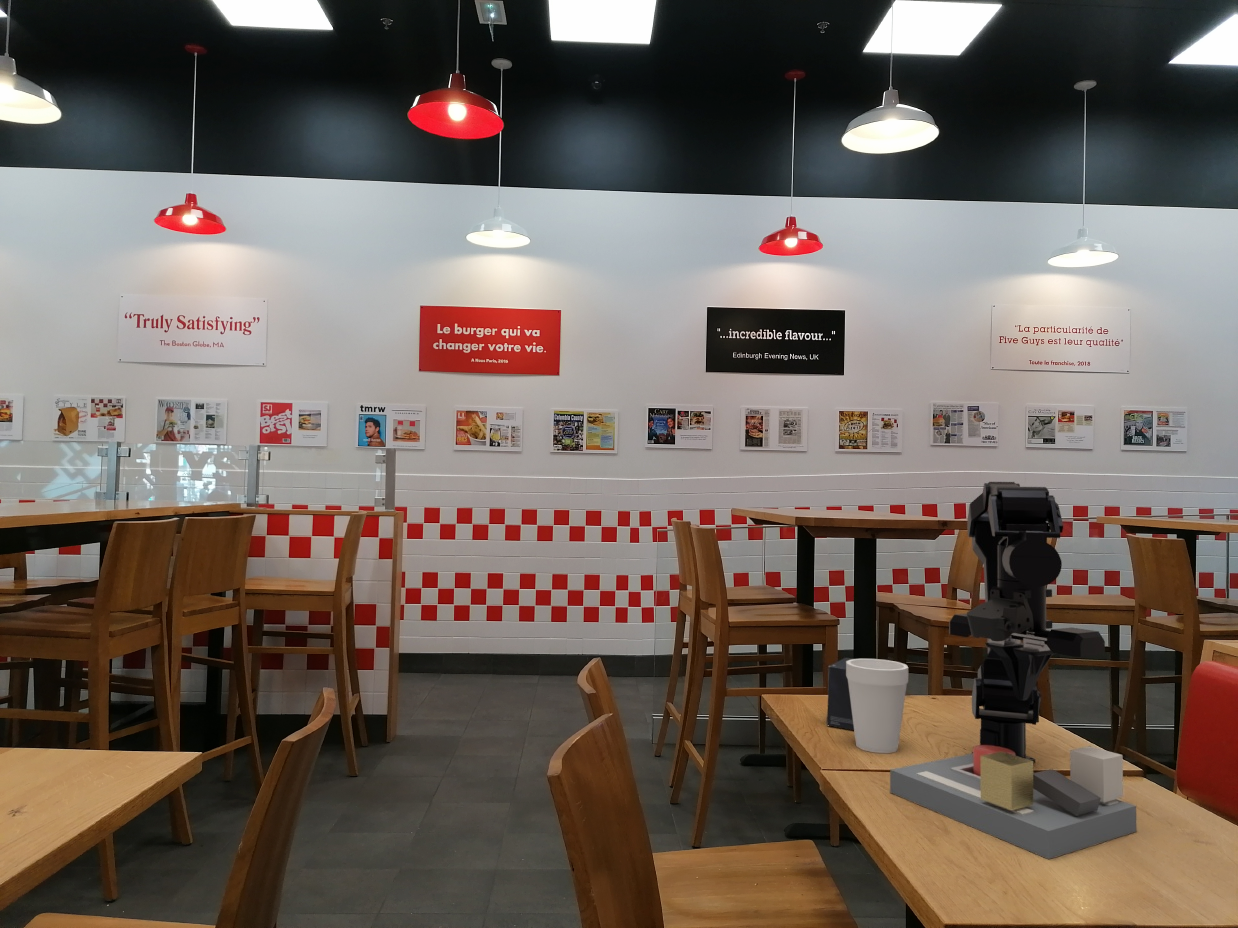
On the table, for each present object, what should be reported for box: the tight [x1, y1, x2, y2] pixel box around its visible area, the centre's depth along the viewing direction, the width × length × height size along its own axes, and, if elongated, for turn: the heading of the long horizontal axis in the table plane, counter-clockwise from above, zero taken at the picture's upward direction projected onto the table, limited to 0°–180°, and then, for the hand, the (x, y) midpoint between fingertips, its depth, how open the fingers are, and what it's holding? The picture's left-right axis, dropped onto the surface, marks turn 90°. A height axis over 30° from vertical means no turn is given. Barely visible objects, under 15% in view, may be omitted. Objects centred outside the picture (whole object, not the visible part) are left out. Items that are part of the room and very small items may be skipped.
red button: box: [972, 744, 1015, 777], centre depth 103 cm, size 5×5×6 cm
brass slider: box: [981, 752, 1034, 810], centre depth 92 cm, size 4×4×5 cm
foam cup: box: [846, 658, 909, 754], centre depth 125 cm, size 10×9×13 cm
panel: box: [889, 753, 1138, 860], centre depth 99 cm, size 17×22×3 cm
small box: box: [826, 657, 854, 731], centre depth 139 cm, size 11×6×10 cm, turn 148°
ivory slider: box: [1069, 745, 1124, 802], centre depth 96 cm, size 4×4×5 cm
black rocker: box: [1033, 768, 1101, 816], centre depth 92 cm, size 4×6×2 cm, turn 29°
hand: (1022, 699), depth 103 cm, fingers closed
